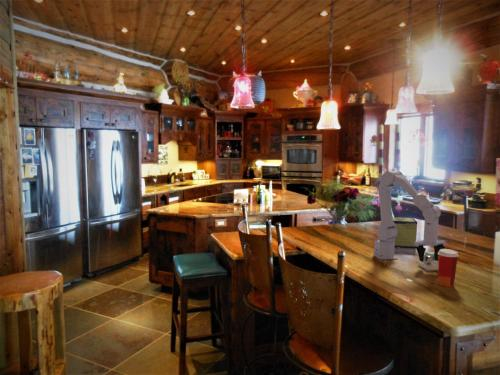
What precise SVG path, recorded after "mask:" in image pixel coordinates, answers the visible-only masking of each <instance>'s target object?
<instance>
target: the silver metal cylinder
mask: <svg viewBox="0 0 500 375" xmlns="http://www.w3.org/2000/svg"><path fill="white" fill-rule="evenodd" d="M433 262H434V256H432V255H425V254H424V264H426V265H428V266H429V265H433Z"/></svg>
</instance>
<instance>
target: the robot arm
mask: <svg viewBox="0 0 500 375" xmlns="http://www.w3.org/2000/svg"><path fill="white" fill-rule="evenodd" d="M395 186H396V187H401V188H402V190H404V191H405V192H406V193H407V194H408V195H409V196H410V197H411V198H412V202H413V204H415V206H416V207H417V208H418V209H419V210H420V212H422V217H424V222H423V223H424V224H423V226H424V228H423V240H416V241H415V244H414V246H415V248H416V249H415V250H416V252H417V254H418V259H419V261H421V262H423V261H424V255H425V252H426V250H427V248H426V247H428V246H432V247H433V252H434V260H436V261H438V252H439V250H440V249H446V247H445V246H446V244H447V243H446V240H438V231H439V218H440V217H441V215H442V211H441V208H440V207H439V206H437V205H435V204H434V203H433V202H431V201H430V200H429V199H428V196H427V194H423V193H419V191H417V189H416V188H415V187H414V186H413V185H412V184H411V183H410V181H409V180H408V179H407V177H406V175H404V174H403V173H402V171H401V170H394V171H393V170H392V171H385V172H384V173H382V175H381V176H380V182H379V184H378V188H377V189H378V198H379V210H380V222H379V224H378V229H377V233H376V235H377V237H378V240H375V241H374V245H373V246H374V247H373V254H372V255H373V257H375V258H377V259H378V260H398V259H399V258H398V257H396V256H395V238H396V237H397V235H398V230H397V229H396V225H395V223H394V222H393V219H392V217H393V209H392V199H391V198H392V197H391V190H392V188H394V187H395ZM425 246H426V247H425Z"/></svg>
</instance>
